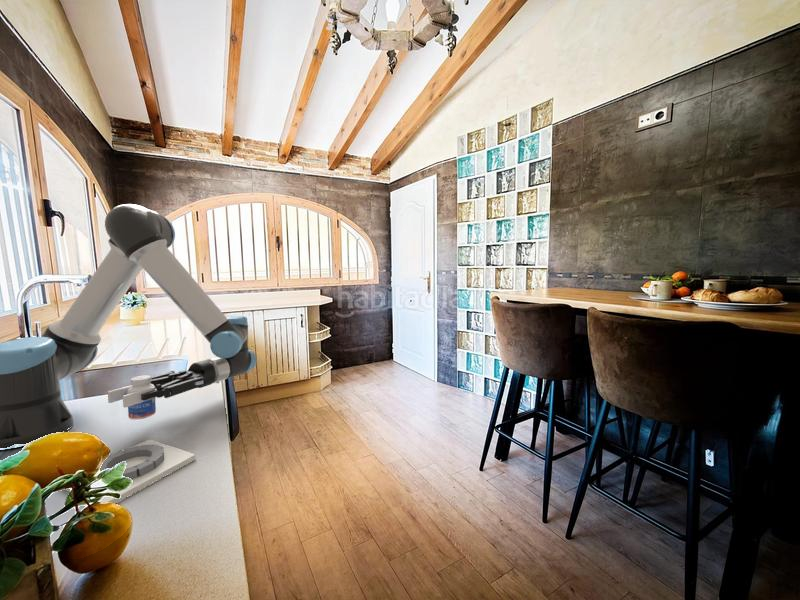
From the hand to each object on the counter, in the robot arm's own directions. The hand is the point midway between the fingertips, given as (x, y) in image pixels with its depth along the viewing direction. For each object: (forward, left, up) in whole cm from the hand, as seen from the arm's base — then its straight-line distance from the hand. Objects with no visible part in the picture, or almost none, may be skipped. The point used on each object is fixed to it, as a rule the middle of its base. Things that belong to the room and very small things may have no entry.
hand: (116, 399), depth 76 cm
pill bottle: (0, +5, -6) cm, 8 cm away
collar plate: (+16, -6, -10) cm, 20 cm away
